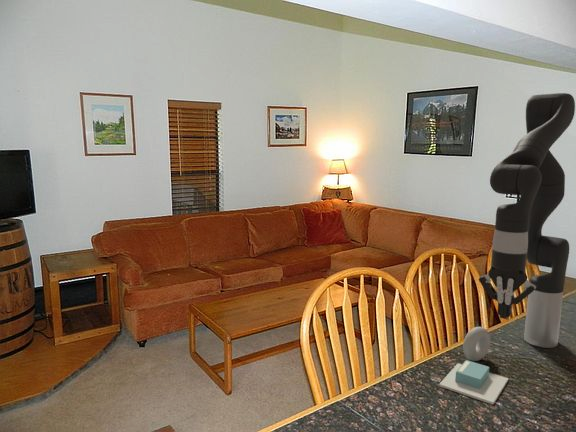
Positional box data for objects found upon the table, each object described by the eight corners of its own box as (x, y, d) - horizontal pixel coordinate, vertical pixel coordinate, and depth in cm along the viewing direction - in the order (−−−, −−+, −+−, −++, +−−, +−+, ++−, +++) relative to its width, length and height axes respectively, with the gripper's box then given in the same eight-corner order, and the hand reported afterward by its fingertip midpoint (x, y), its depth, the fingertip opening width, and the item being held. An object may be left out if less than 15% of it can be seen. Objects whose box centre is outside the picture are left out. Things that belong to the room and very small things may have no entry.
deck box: (488, 376, 119) (465, 368, 123) (489, 366, 118) (466, 359, 122) (479, 389, 113) (455, 381, 116) (480, 379, 112) (456, 371, 116)
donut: (469, 367, 125) (472, 333, 123) (459, 362, 128) (461, 328, 126) (491, 358, 130) (494, 325, 128) (481, 353, 133) (483, 321, 131)
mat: (457, 365, 126) (457, 363, 126) (508, 380, 118) (508, 378, 118) (439, 386, 115) (439, 384, 115) (493, 404, 107) (493, 402, 107)
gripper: (544, 249, 107) (537, 319, 109) (485, 242, 115) (480, 307, 118) (537, 256, 101) (530, 329, 104) (476, 247, 109) (471, 315, 112)
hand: (503, 317), depth 111 cm, fingers closed
